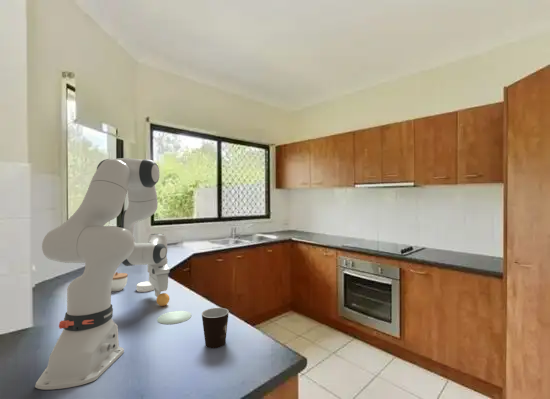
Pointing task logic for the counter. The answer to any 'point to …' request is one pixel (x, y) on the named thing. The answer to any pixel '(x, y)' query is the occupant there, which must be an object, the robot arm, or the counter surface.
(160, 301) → the ball
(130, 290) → the counter surface
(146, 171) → the robot arm
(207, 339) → the coffee mug
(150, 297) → the counter surface
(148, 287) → the white round disc
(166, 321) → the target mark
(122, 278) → the lidded jar
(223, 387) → the counter surface
